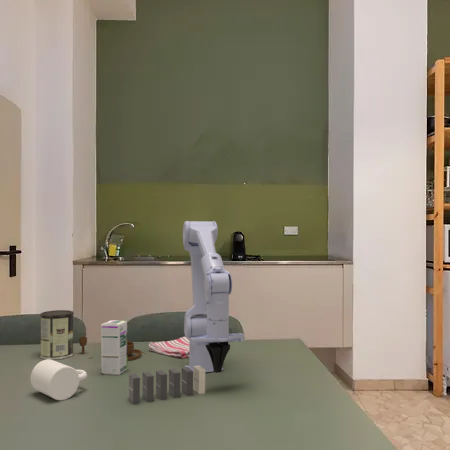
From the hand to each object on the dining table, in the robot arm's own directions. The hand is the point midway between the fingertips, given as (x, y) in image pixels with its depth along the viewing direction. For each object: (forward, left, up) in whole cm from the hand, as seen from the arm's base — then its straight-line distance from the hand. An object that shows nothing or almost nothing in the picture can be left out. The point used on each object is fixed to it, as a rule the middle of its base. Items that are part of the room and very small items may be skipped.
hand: (217, 371), depth 127 cm
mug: (+37, -13, -5) cm, 39 cm away
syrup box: (+21, -26, -5) cm, 34 cm away
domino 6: (+5, 0, -4) cm, 7 cm away
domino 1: (+22, 0, -4) cm, 22 cm away
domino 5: (+8, 0, -4) cm, 10 cm away
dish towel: (-9, -44, -5) cm, 45 cm away
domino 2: (+19, 0, -4) cm, 19 cm away
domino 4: (+12, 0, -4) cm, 13 cm away
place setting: (+16, -46, -5) cm, 49 cm away
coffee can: (+34, -52, -5) cm, 62 cm away
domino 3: (+15, 0, -4) cm, 16 cm away
